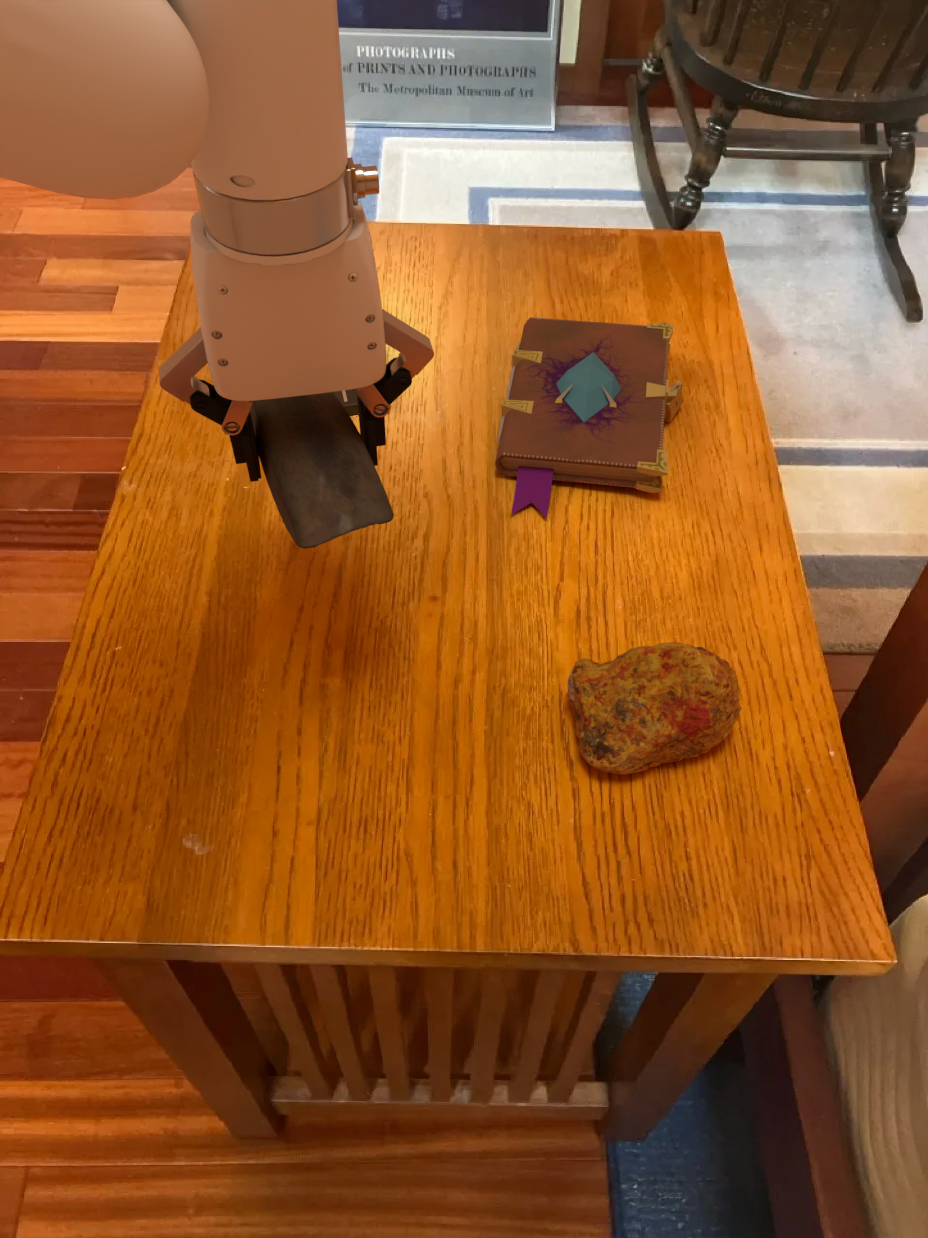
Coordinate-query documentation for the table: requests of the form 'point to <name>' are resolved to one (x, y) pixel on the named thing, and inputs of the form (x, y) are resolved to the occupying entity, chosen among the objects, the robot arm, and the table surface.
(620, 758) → the rock
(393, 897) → the table surface
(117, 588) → the table surface
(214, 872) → the table surface
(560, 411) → the book
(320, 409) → the decorative stone
